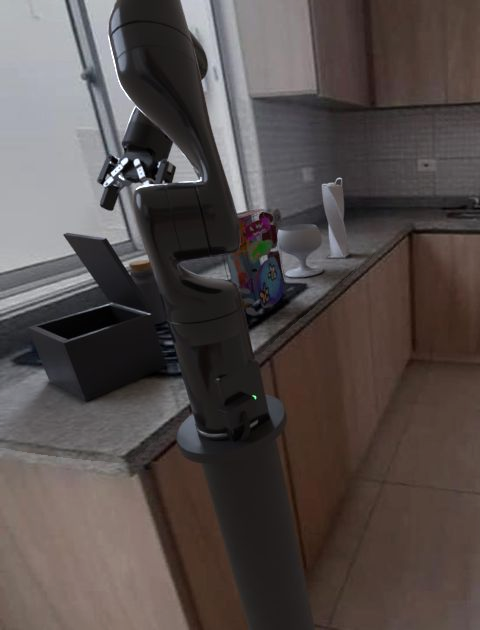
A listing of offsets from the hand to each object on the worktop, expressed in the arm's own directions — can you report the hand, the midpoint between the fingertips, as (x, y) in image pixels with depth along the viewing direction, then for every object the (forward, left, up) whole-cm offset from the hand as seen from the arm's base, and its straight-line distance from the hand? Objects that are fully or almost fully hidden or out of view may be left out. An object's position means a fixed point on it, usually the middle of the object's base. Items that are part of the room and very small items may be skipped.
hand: (124, 211), depth 80 cm
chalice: (+18, -57, -29) cm, 66 cm away
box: (+3, -30, -29) cm, 42 cm away
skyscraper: (+22, -79, -29) cm, 87 cm away
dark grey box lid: (+1, +5, -11) cm, 12 cm away
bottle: (+21, -10, -29) cm, 38 cm away
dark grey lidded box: (+1, +10, -29) cm, 31 cm away
